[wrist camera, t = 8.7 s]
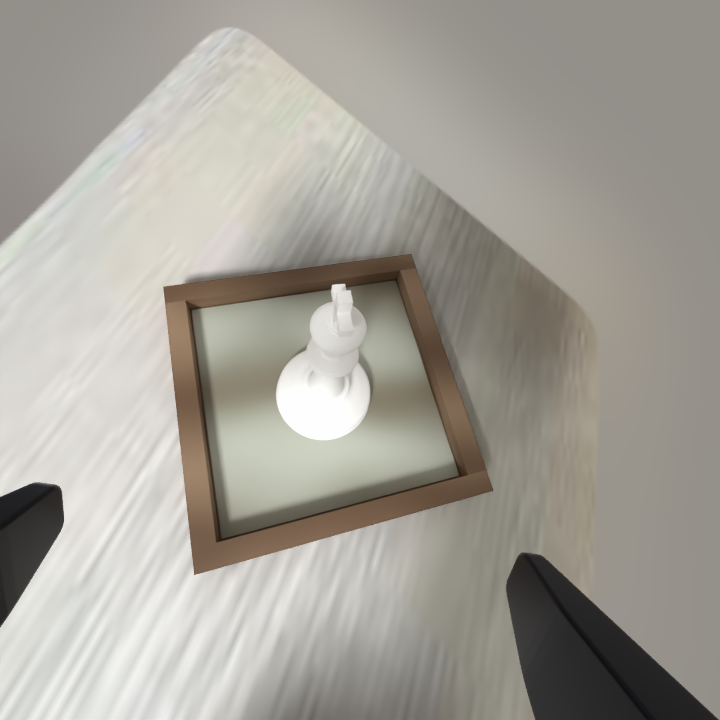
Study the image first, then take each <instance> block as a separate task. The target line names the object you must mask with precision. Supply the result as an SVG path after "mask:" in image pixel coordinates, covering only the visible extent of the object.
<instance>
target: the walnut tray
mask: <svg viewBox="0 0 720 720" xmlns="http://www.w3.org/2000/svg"><path fill="white" fill-rule="evenodd" d="M335 284H345V285H346V291H348V290H351V295H352V300H353V304H352V306H354V307H355V308H357V309H358V310H359V311H360V312H361V313H362V315H363V317H364V319H365V321H366V325H367V332H366V337H365V339H364V341H363V343H362V344H361V345H360V346H359V347H358V350H359V359H358V363H359V364H360V365H361V366H362V367H363V369H364V371H365V372H366V374H367V377H368V380H369V384H370V403H369V407H368V411H367V413H366V415H365V417H364V419H363V420H362V422H361V423H360V424H359V425H358V426H357V427H356V428H355V429H354V430H353V431H351V432H350V433H348V434H346V435H344V436H342V437H340V438H336V439H332V440H315V439H311V438H308V437H305V436H303V435H301V434H299V433H297V432H296V431H294V430H293V429H292V428H291V427H290V426H289V425H288V424H287V423H286V422H285V421H284V419H283V417H282V416H281V414H280V412H279V409H278V406H277V401H276V388H277V383H278V380H279V377H280V375H281V373H282V371H283V369H284V367H285V366H286V365H287V363H288V362H289V361H290V360H291V359H292V358H294V357H295V356H296V355H298V354H299V353H301V352H303V351H306V349H307V345H308V343H309V341H310V339H311V338H312V336H311V333H310V320H311V317H312V315H313V314H314V312H315V311H316V310H317V309H318V308H319V307H320V306H322V305H324V304H326V303H329V302H333V301H332V295H331V288H332V285H335ZM163 288H164V297H165V306H166V316H167V325H168V334H169V343H170V353H171V362H172V371H173V381H174V390H175V399H176V408H177V418H178V427H179V436H180V446H181V455H182V464H183V474H184V483H185V492H186V501H187V511H188V520H189V529H190V539H191V548H192V557H193V566H194V575H196V574H199V573H203V572H207V571H210V570H214V569H217V568H221V567H224V566H228V565H231V564H235V563H238V562H242V561H246V560H249V559H253V558H256V557H260V556H263V555H267V554H270V553H274V552H277V551H281V550H285V549H288V548H292V547H295V546H299V545H302V544H306V543H309V542H313V541H316V540H320V539H323V538H327V537H331V536H334V535H338V534H341V533H345V532H348V531H352V530H355V529H359V528H362V527H366V526H370V525H373V524H377V523H380V522H384V521H387V520H391V519H394V518H398V517H401V516H405V515H409V514H412V513H416V512H419V511H423V510H426V509H430V508H433V507H437V506H440V505H444V504H448V503H451V502H455V501H458V500H462V499H465V498H469V497H472V496H476V495H479V494H483V493H487V492H490V491H493V488H492V485H491V482H490V479H489V476H488V474H487V471H486V468H485V465H484V462H483V459H482V456H481V453H480V451H479V448H478V445H477V442H476V439H475V436H474V433H473V430H472V428H471V425H470V422H469V419H468V416H467V413H466V410H465V407H464V404H463V402H462V399H461V396H460V393H459V390H458V387H457V384H456V381H455V379H454V376H453V373H452V370H451V367H450V364H449V361H448V358H447V356H446V353H445V350H444V347H443V344H442V341H441V338H440V335H439V333H438V330H437V327H436V324H435V321H434V318H433V315H432V312H431V310H430V307H429V304H428V301H427V298H426V295H425V292H424V289H423V287H422V284H421V281H420V278H419V275H418V272H417V269H416V266H415V263H414V261H413V258H412V255H411V254H408V255H401V256H393V257H385V258H378V259H370V260H363V261H355V262H348V263H340V264H332V265H325V266H317V267H310V268H302V269H295V270H287V271H279V272H272V273H264V274H257V275H249V276H242V277H234V278H226V279H219V280H211V281H204V282H196V283H189V284H181V285H174V286H166V287H163Z"/></svg>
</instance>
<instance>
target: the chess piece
mask: <svg viewBox="0 0 720 720" xmlns="http://www.w3.org/2000/svg"><path fill="white" fill-rule="evenodd" d="M331 295H332V301H333V302H329V303H326V304H324V305H322V306H320V307H319V308H318V309H317V310H316V311H315V312H314V314H313V315H312V317H311V320H310V333H311V336H312V338H311V339H310V341H309V343H308V345H307V349H306V351H303V352H301V353H299V354H298V355H296V356H295V357H294V358H292V359H291V360H290V361H289V362H288V363H287V365H286V366H285V367H284V369H283V371H282V373H281V375H280V377H279V380H278V383H277V388H276V401H277V406H278V409H279V412H280V414H281V416H282V417H283V419H284V421H285V422H286V423H287V424H288V425H289V426H290V427H291V428H292V429H293V430H294V431H296V432H297V433H299V434H301V435H303V436H305V437H308V438H311V439H315V440H332V439H336V438H340V437H342V436H344V435H346V434H348V433H350V432H351V431H353V430H354V429H355V428H356V427H357V426H358V425H359V424H360V423H361V422H362V420H363V419H364V417H365V415H366V413H367V411H368V407H369V403H370V384H369V380H368V377H367V374H366V372H365V371H364V369H363V367H362V366H361V365H360V364H359V363H358V359H359V350H358V347H359V346H360V345H361V344H362V343H363V341H364V339H365V337H366V332H367V325H366V321H365V319H364V317H363V315H362V313H361V312H360V311H359V310H358V309H357V308H355V307H354V306H352V304H353V300H352V295H351V290H348V291H346V285H345V284H335V285H332V288H331Z"/></svg>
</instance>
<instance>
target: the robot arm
mask: <svg viewBox="0 0 720 720" xmlns="http://www.w3.org/2000/svg"><path fill="white" fill-rule="evenodd" d="M63 523H64V511H63V499H62V490H61V488H60V487H59V486H57V485H54V484H47V483H40V482H36V483H32V484H29V485H27V486H25V487H22V488H20V489H18V490H15V491H13V492H11V493H8V494H6V495H4V496H1V497H0V627H1V625H2V624H3V623H4V621H5V620H6V618H7V617H8V616H9V614H10V613H11V611H12V609H13V608H14V606H15V605H16V603H17V602H18V600H19V599H20V597H21V595H22V594H23V592H24V590H25V589H26V587H27V586H28V584H29V582H30V581H31V579H32V577H33V576H34V574H35V573H36V571H37V569H38V568H39V566H40V564H41V563H42V561H43V559H44V558H45V556H46V555H47V553H48V551H49V550H50V548H51V546H52V545H53V543H54V542H55V540H56V538H57V537H58V535H59V533H60V532H61V529H62V527H63ZM506 592H507V598H508V603H509V608H510V614H511V619H512V624H513V629H514V634H515V639H516V644H517V650H518V655H519V660H520V665H521V669H522V674H523V678H524V682H525V685H526V689H527V693H528V696H529V699H530V703H531V706H532V710H533V713H534V717H535V720H718V719H717V718H716V717H715V716H714V715H713V714H712V713H711V712H710V711H709V710H708V709H707V708H705V707H704V706H703V705H702V704H701V703H700V702H699V701H698V700H697V699H696V698H695V697H694V696H693V695H692V694H691V693H689V692H688V691H687V690H686V689H685V688H684V687H683V686H682V685H681V684H680V683H679V682H678V681H676V680H675V679H674V678H673V677H672V676H671V675H670V674H669V673H668V672H667V671H666V670H665V669H664V668H662V666H660V665H659V664H658V663H657V662H656V661H655V660H654V659H653V658H652V657H651V656H650V655H649V654H648V653H646V652H645V651H644V650H643V649H642V648H641V647H640V646H639V645H638V644H637V643H636V642H635V641H634V640H632V639H631V638H630V637H629V636H628V635H627V634H626V633H625V632H624V631H623V630H622V629H621V628H620V627H619V626H617V625H616V624H615V623H614V622H613V621H612V620H611V619H610V618H609V617H608V616H607V615H606V614H604V613H603V612H602V611H601V610H600V609H599V608H598V607H597V606H596V605H595V604H594V603H593V602H592V601H591V600H589V599H588V598H587V597H586V596H585V595H584V594H583V593H582V592H581V591H580V590H579V589H578V588H577V587H576V586H574V585H573V584H572V583H571V582H570V581H569V580H568V579H567V578H566V577H565V576H564V575H563V574H562V573H560V572H559V571H558V570H557V569H556V568H555V567H554V566H553V565H552V564H551V563H550V562H549V561H548V560H546V559H545V558H544V557H543V556H541V555H538V554H532V553H521V554H520V555H519V556H518V557H517V560H516V562H515V564H514V566H513V569H512V571H511V573H510V575H509V577H508V580H507V584H506Z"/></svg>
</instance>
